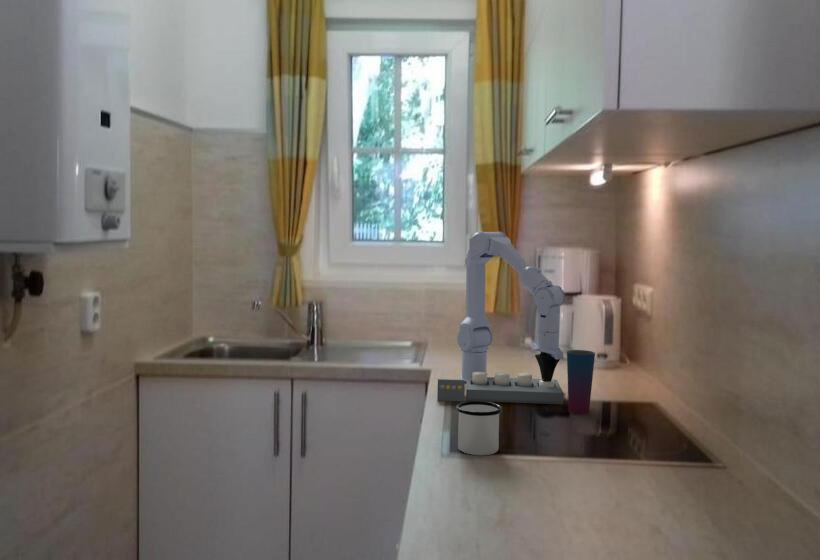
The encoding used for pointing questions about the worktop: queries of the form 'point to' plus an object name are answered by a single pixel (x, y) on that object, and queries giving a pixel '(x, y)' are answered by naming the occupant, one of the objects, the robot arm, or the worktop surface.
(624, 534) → the worktop surface
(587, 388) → the cup
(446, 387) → the card
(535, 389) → the board
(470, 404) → the mug
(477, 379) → the button
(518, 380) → the button
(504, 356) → the worktop surface
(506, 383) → the button
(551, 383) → the button
